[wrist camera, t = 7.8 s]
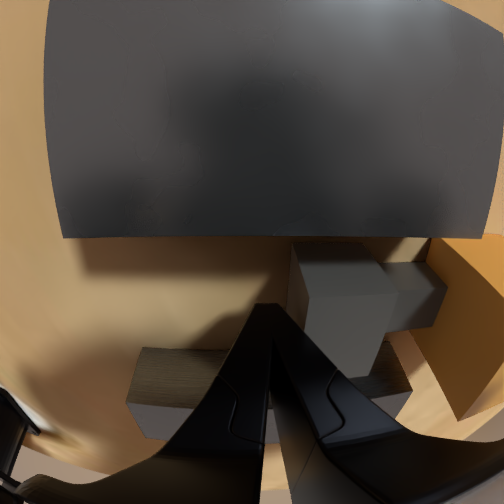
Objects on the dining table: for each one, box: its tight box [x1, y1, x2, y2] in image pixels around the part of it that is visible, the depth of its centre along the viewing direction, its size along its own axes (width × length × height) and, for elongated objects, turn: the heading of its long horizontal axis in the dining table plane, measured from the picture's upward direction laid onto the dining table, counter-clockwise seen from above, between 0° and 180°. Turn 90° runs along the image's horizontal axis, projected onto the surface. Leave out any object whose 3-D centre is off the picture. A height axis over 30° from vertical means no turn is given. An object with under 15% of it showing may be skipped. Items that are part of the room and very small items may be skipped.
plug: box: [286, 234, 504, 421], centre depth 8 cm, size 4×10×6 cm, turn 89°
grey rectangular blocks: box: [44, 0, 504, 444], centre depth 9 cm, size 16×11×3 cm
